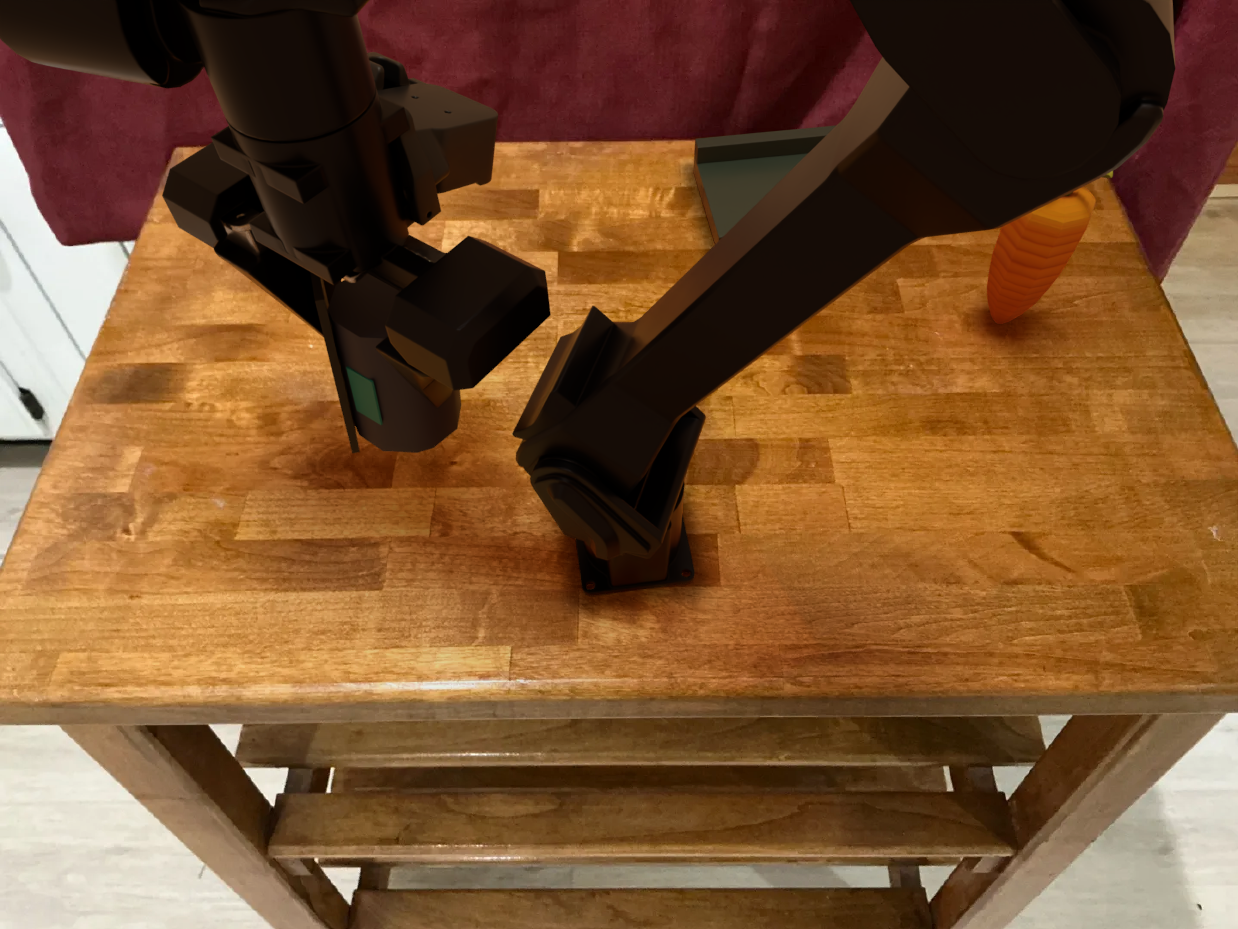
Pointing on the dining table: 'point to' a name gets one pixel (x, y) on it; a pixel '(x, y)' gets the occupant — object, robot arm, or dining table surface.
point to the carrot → (1035, 253)
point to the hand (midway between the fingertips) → (391, 370)
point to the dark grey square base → (746, 170)
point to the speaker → (376, 372)
